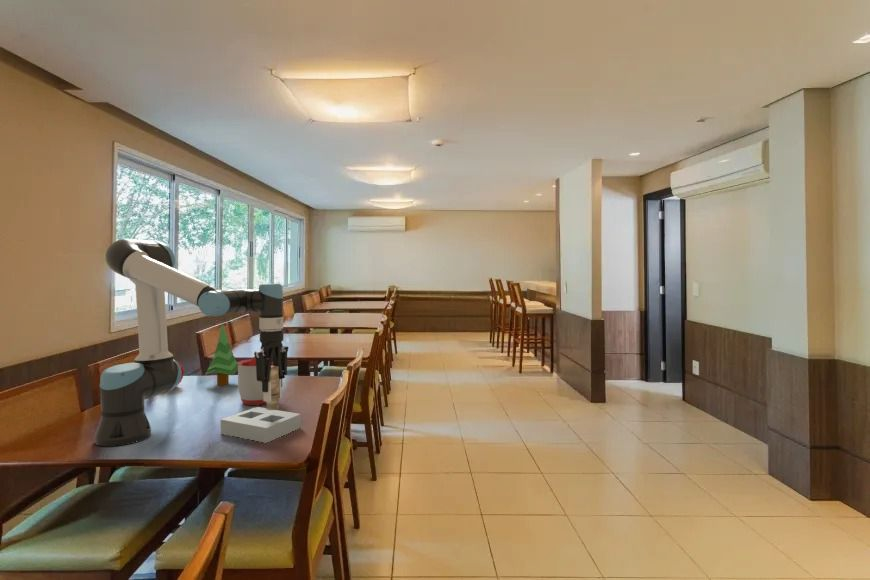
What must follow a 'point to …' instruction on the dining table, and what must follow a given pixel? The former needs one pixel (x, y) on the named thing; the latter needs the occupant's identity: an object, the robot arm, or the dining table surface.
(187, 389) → the dining table surface
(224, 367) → the decorative tree
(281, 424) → the board
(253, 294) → the robot arm
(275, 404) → the peg
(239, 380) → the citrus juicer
